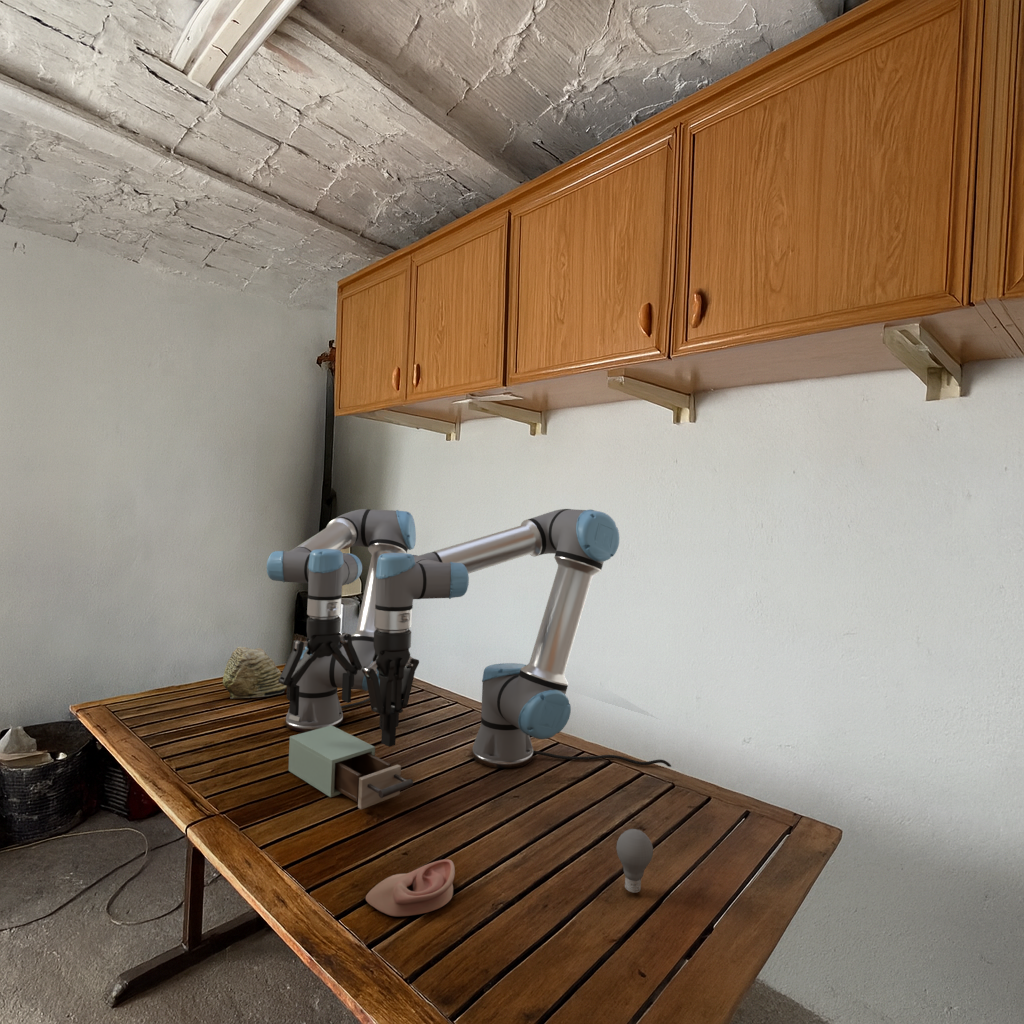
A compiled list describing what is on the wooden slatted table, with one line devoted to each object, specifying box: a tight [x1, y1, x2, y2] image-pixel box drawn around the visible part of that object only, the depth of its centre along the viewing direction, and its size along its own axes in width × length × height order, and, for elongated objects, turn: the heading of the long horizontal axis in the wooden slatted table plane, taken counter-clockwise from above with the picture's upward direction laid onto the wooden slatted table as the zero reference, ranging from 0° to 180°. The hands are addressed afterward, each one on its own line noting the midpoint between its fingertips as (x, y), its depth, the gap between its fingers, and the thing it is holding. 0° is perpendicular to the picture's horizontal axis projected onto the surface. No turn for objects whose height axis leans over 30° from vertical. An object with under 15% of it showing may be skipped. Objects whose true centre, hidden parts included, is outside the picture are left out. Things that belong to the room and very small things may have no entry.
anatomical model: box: [365, 858, 456, 918], centre depth 102 cm, size 13×4×12 cm
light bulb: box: [615, 828, 654, 894], centre depth 106 cm, size 6×6×10 cm
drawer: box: [334, 753, 414, 810], centre depth 135 cm, size 22×10×6 cm, turn 48°
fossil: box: [222, 646, 287, 699], centre depth 198 cm, size 9×18×15 cm, turn 132°
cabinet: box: [288, 725, 376, 798], centre depth 144 cm, size 18×11×8 cm, turn 48°
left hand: (320, 707), depth 147 cm, fingers open, 13 cm apart
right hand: (388, 743), depth 129 cm, fingers closed
